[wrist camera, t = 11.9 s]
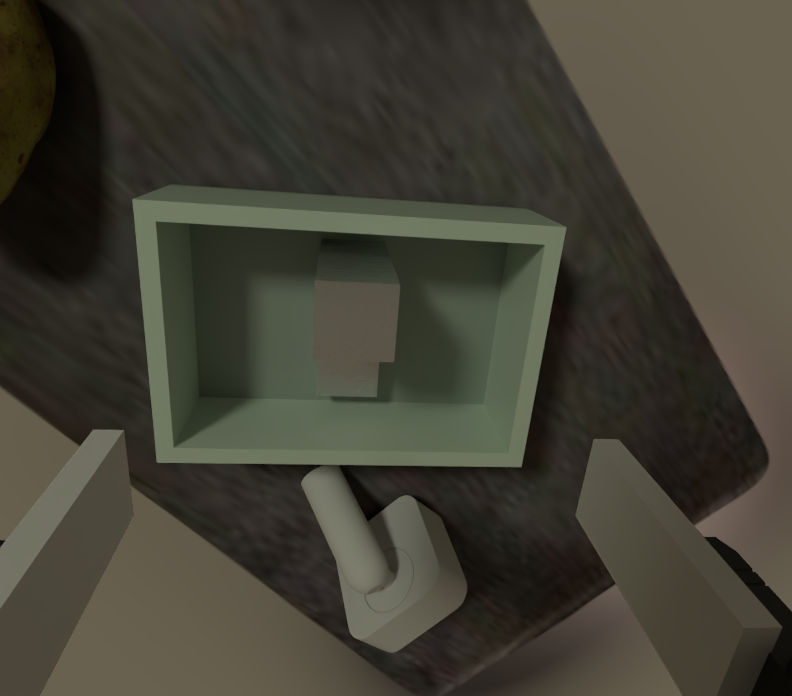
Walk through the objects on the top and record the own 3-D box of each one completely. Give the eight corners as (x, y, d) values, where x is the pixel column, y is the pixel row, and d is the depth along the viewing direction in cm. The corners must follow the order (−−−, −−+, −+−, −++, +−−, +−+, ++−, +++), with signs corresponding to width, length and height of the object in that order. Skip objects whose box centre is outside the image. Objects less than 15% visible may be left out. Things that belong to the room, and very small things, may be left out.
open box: (172, 184, 34) (132, 199, 27) (525, 208, 36) (566, 227, 30) (186, 406, 39) (156, 462, 33) (493, 413, 42) (521, 467, 35)
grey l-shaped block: (321, 238, 35) (314, 280, 26) (384, 242, 36) (400, 284, 27) (317, 382, 39) (310, 464, 30) (374, 384, 39) (385, 464, 30)
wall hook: (346, 428, 40) (377, 539, 32) (430, 489, 46) (473, 597, 38) (267, 493, 42) (277, 616, 34) (357, 545, 48) (384, 661, 39)
